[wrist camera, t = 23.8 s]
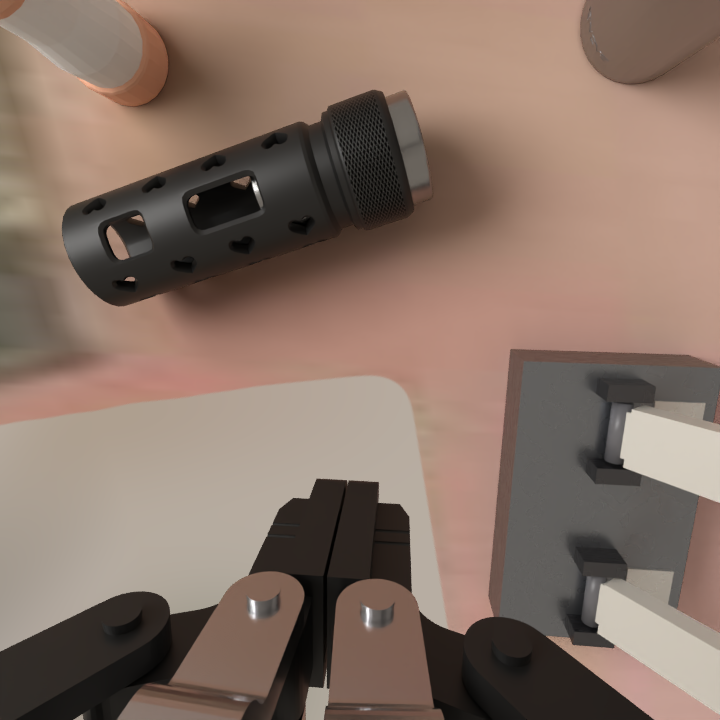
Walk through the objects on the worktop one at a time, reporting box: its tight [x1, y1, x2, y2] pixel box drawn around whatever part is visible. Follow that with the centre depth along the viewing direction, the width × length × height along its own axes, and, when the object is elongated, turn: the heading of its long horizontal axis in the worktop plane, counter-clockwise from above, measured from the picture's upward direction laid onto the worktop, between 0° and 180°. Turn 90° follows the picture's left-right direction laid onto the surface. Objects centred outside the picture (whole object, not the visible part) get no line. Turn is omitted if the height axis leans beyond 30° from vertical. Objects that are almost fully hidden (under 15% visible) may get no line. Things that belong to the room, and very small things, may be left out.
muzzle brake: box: [62, 90, 433, 306], centre depth 39 cm, size 10×28×10 cm, turn 107°
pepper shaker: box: [0, 0, 168, 106], centre depth 33 cm, size 7×7×19 cm
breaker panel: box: [489, 349, 720, 648], centre depth 44 cm, size 16×27×7 cm, turn 179°
